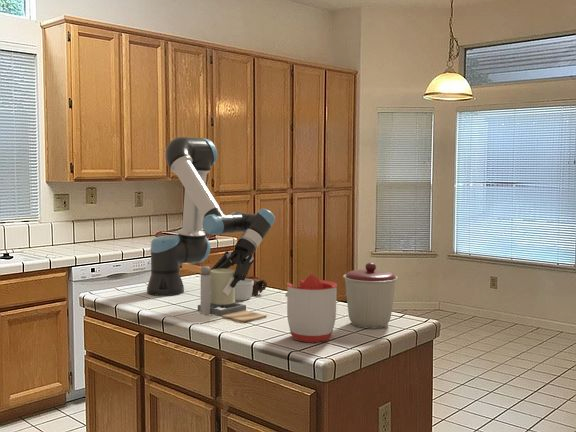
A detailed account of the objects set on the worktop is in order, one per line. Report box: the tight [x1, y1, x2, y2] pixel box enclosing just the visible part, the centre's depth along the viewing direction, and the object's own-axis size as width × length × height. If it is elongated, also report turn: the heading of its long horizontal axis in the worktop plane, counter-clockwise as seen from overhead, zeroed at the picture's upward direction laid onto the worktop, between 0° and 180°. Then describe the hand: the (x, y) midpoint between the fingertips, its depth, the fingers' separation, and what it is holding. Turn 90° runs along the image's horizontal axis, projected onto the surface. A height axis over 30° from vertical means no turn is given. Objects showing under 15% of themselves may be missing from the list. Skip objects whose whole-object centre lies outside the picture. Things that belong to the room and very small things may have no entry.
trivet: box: [221, 310, 267, 324], centre depth 215 cm, size 11×11×1 cm
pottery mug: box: [245, 276, 268, 296], centre depth 256 cm, size 12×10×8 cm
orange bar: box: [181, 263, 211, 275], centre depth 223 cm, size 3×16×2 cm, turn 39°
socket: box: [197, 274, 247, 317], centre depth 223 cm, size 12×15×14 cm
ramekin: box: [235, 279, 254, 302], centre depth 247 cm, size 13×13×7 cm
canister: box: [342, 262, 399, 329], centre depth 206 cm, size 18×18×21 cm
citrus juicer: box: [285, 273, 338, 344], centre depth 190 cm, size 16×17×20 cm
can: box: [209, 268, 236, 305], centre depth 224 cm, size 9×9×12 cm
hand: (215, 291), depth 222 cm, fingers closed on can, 9 cm apart
